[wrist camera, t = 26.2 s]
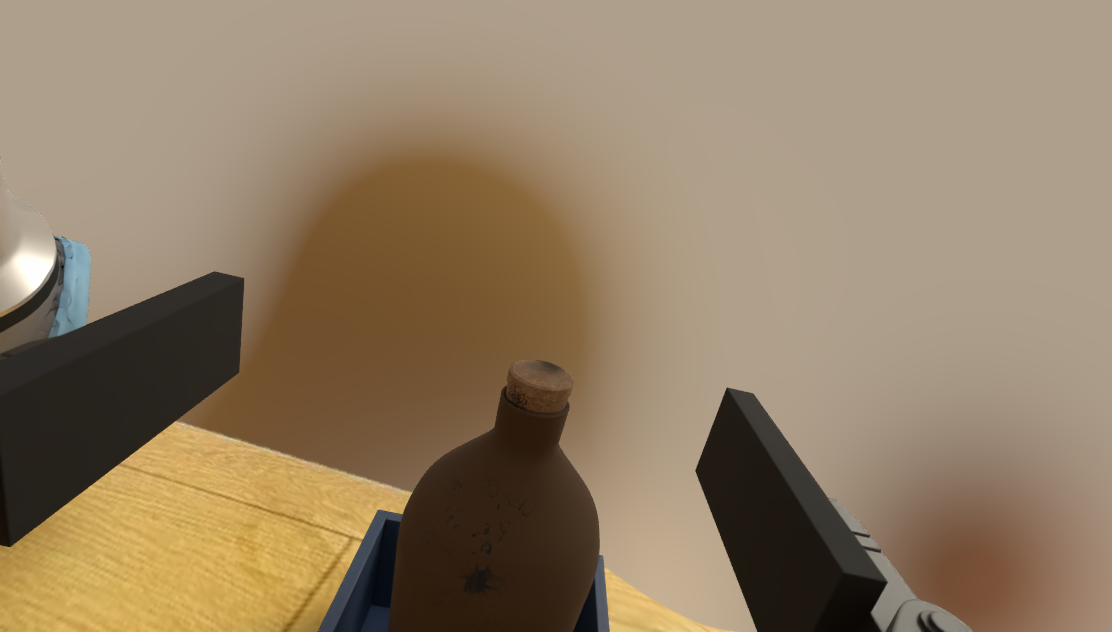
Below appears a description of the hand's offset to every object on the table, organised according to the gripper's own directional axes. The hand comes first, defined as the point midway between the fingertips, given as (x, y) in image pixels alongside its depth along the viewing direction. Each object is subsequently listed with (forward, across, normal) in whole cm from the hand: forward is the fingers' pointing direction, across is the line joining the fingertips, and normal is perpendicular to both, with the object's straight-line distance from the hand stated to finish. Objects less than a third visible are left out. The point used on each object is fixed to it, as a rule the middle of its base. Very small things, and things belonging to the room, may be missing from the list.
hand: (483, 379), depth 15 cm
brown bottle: (+10, +2, -30) cm, 31 cm away
